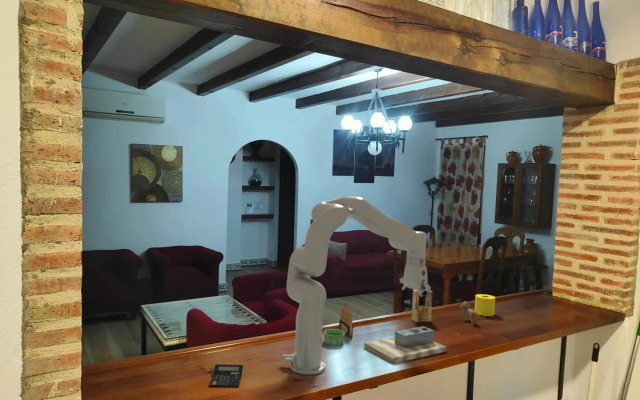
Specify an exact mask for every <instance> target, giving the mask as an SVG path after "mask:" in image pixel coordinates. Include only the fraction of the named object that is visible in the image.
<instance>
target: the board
mask: <svg viewBox="0 0 640 400" xmlns="http://www.w3.org/2000/svg"><path fill="white" fill-rule="evenodd" d="M411 329H412V332H414V333H417V332H418V328H417V327H412V328H411ZM363 348H364V349H366V350H367V349H368V350H367V351H369V350H370V351H369V352H371V351H372V352H371V353H373V354H375V355H377V356H378V355H379V356H378V357H381V358H382V359H384V360H386V361H387V362H390V363H391V364H397V363H400V362H406V361H411V360H414V359H419V358H424V357H428V356H432V355H437V354H441V353H446V352H447V346H445V345H442V344H441V343H438V342H436V341H434V342H433V343H428V344H423V345H418V346H414V347H409V348H403V347H401V346H399V345H397V344H395V336H394V337H388V338H382V339H378V340H372V341H366V342H363Z"/></svg>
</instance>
